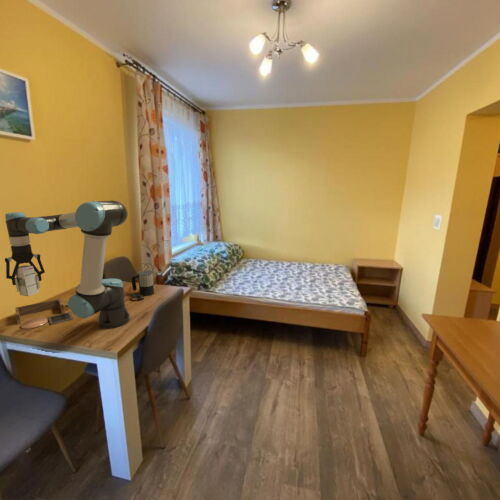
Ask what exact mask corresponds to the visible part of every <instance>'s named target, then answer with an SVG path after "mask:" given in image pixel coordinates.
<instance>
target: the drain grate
mask: <svg viewBox="0 0 500 500" xmlns="http://www.w3.org/2000/svg"><path fill="white" fill-rule="evenodd" d="M47 319H48V322H49V324H50V326H52V325H57V324H60V323H61V324H62V323H64V322H68V321H72V320H74V317H73V316H72V312H70V311H69V312H65V313H60V314H56V315H52V316H48V317H47Z"/></svg>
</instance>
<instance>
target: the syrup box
mask: <svg viewBox="0 0 500 500" xmlns="http://www.w3.org/2000/svg"><path fill="white" fill-rule="evenodd" d="M36 275H37V273H36V272H35V270H34V268H33V266H31V265H30V264H24V265H23V264H22V265H19V267H18V270H17V273H16V276H15V278H17V282H18V287H19V292H18V293H19V295H20V296H22V297H23V296H25V297H31V296H34V295H36V294H39V293H40V288H38V284H37V278H36Z"/></svg>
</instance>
